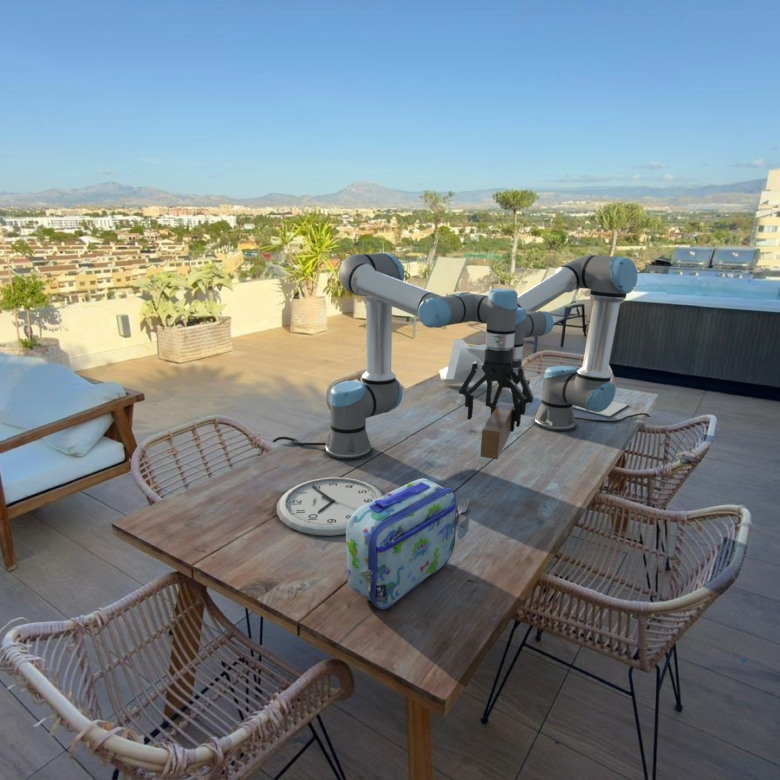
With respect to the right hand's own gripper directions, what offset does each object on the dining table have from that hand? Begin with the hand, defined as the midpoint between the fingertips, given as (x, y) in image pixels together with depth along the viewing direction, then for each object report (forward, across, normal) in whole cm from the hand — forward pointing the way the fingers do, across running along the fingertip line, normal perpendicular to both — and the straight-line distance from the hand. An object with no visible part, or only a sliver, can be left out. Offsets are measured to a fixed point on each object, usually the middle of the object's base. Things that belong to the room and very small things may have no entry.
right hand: (503, 428), depth 167 cm
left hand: (-9, 0, -20) cm, 22 cm away
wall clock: (+12, -37, -46) cm, 61 cm away
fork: (+12, -4, -40) cm, 41 cm away
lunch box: (+12, -9, -69) cm, 70 cm away
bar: (+1, 0, -10) cm, 10 cm away
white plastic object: (+12, -23, +72) cm, 77 cm away
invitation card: (+12, +30, +74) cm, 81 cm away
